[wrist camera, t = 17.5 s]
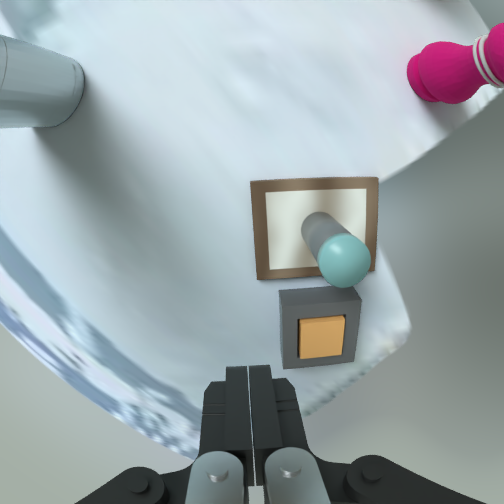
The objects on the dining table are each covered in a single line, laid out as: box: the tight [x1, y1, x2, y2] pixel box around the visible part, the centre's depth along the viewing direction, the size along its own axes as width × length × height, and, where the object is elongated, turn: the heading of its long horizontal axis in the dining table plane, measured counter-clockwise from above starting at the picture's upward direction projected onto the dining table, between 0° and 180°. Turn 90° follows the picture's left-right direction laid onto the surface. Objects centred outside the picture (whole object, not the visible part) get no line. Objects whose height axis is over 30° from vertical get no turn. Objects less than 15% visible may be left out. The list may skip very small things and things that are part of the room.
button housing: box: [279, 286, 362, 369], centre depth 36 cm, size 9×9×4 cm
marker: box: [301, 212, 371, 288], centre depth 28 cm, size 4×4×10 cm
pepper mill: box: [407, 23, 504, 104], centre depth 19 cm, size 7×7×20 cm
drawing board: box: [250, 177, 378, 280], centre depth 34 cm, size 14×11×1 cm
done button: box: [297, 315, 345, 359], centre depth 36 cm, size 5×5×4 cm
